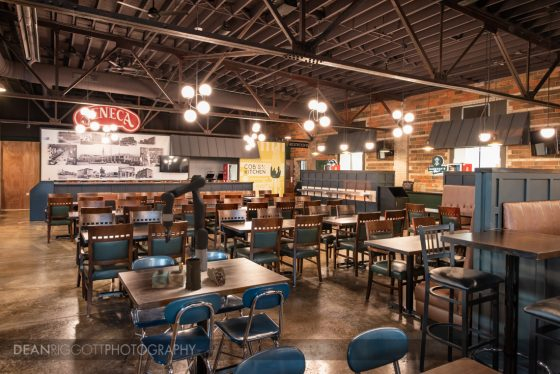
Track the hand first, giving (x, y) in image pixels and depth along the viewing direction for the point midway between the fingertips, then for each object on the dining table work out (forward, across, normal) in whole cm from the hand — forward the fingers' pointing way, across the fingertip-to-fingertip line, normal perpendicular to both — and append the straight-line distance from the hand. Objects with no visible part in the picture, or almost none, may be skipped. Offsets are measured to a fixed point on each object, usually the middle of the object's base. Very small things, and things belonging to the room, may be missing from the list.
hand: (168, 241), depth 271 cm
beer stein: (+27, -30, -21) cm, 45 cm away
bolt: (+19, -16, -8) cm, 26 cm away
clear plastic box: (+27, -16, -3) cm, 32 cm away
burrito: (+28, -12, -35) cm, 46 cm away
